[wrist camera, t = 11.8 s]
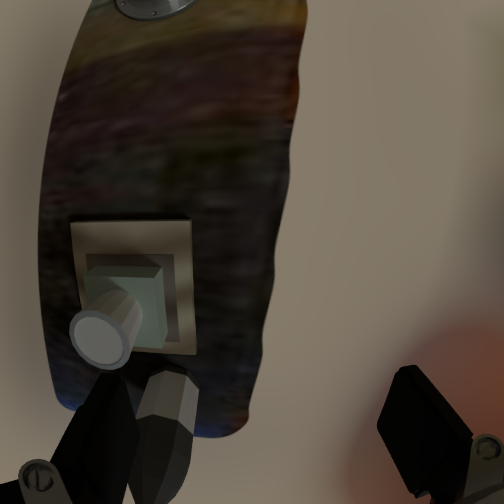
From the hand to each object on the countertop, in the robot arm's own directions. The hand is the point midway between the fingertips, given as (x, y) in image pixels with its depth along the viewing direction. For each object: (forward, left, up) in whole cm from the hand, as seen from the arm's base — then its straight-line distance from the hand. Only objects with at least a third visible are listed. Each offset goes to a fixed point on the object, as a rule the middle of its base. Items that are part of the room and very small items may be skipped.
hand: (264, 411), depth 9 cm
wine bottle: (+23, -10, -28) cm, 38 cm away
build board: (+7, -14, -28) cm, 32 cm away
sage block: (+8, -14, -27) cm, 31 cm away
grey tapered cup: (+8, -14, -23) cm, 28 cm away
